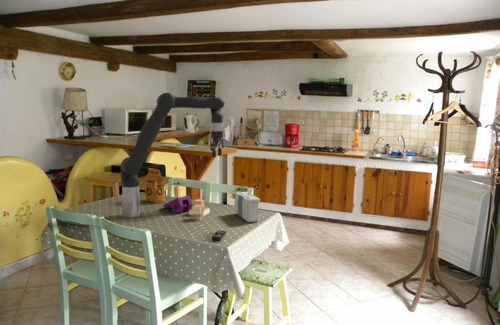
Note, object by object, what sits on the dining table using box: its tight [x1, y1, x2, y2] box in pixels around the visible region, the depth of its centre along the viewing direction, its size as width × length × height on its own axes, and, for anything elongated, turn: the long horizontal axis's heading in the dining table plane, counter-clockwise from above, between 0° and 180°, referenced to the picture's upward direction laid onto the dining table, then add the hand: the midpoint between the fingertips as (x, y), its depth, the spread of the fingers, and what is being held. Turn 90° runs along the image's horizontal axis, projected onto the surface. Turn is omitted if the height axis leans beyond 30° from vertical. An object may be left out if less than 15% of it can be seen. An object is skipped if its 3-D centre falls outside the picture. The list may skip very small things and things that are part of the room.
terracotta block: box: [193, 198, 205, 206], centre depth 229 cm, size 4×4×8 cm
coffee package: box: [144, 167, 165, 204], centre depth 256 cm, size 10×12×22 cm
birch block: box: [192, 204, 205, 221], centre depth 218 cm, size 4×4×8 cm
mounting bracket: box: [162, 195, 193, 214], centre depth 236 cm, size 9×8×18 cm
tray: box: [188, 207, 211, 217], centre depth 229 cm, size 9×9×3 cm
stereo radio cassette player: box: [234, 185, 261, 223], centre depth 222 cm, size 21×8×20 cm, turn 21°
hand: (216, 156), depth 242 cm, fingers open, 8 cm apart
